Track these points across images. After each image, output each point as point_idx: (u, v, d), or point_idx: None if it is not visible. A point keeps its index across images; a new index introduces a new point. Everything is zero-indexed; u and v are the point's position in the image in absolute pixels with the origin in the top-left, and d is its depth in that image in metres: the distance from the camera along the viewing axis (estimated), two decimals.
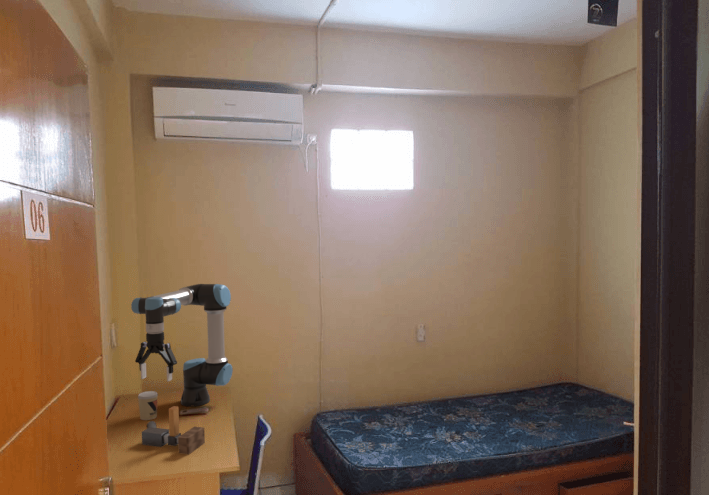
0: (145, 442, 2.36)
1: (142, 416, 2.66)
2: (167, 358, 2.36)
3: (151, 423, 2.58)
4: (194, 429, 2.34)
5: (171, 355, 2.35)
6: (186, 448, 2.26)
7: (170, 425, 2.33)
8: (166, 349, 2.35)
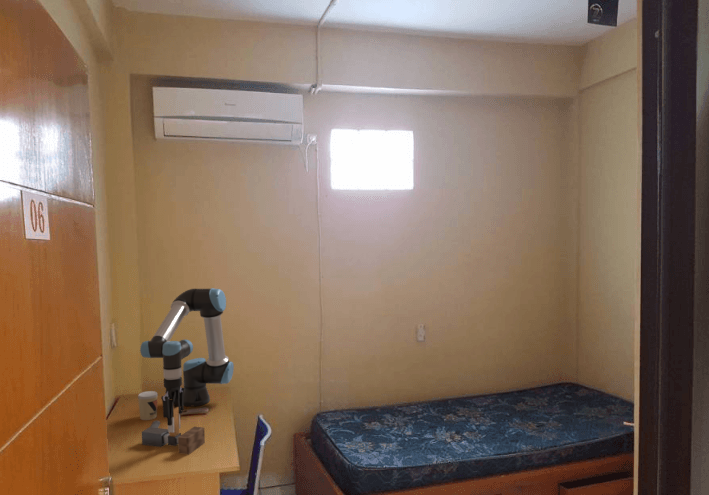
0: (145, 442, 2.36)
1: (142, 416, 2.66)
2: None
3: (154, 423, 2.58)
4: (194, 429, 2.34)
5: (164, 408, 2.28)
6: (186, 448, 2.26)
7: None
8: None
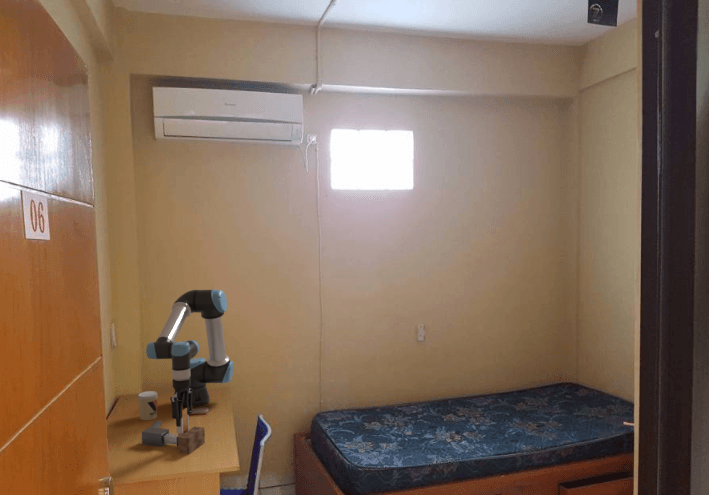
0: (145, 442, 2.36)
1: (142, 416, 2.66)
2: None
3: (155, 422, 2.58)
4: (194, 429, 2.34)
5: (173, 409, 2.27)
6: (186, 448, 2.26)
7: None
8: None
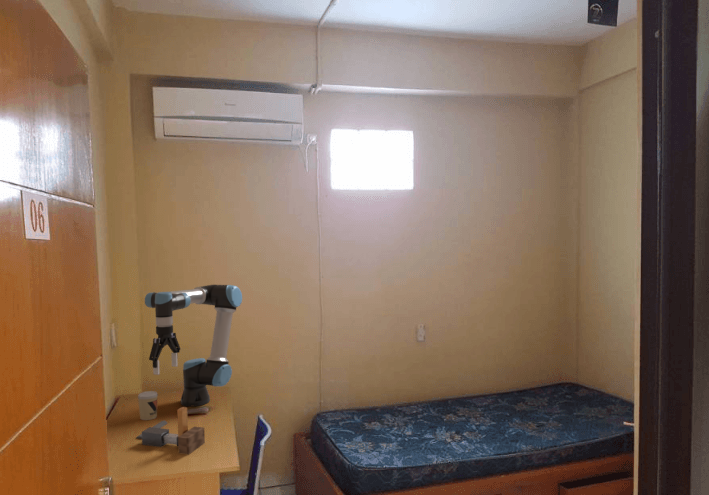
0: (145, 442, 2.36)
1: (142, 416, 2.66)
2: None
3: (160, 423, 2.58)
4: (194, 429, 2.34)
5: (152, 350, 2.42)
6: (186, 448, 2.26)
7: (179, 426, 2.31)
8: None
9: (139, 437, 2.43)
